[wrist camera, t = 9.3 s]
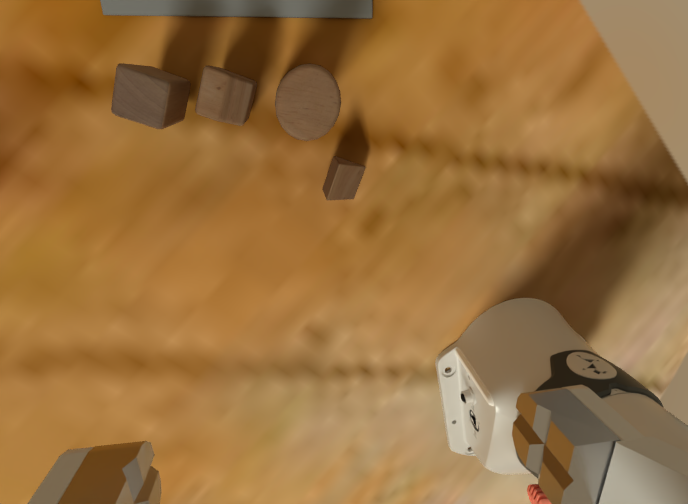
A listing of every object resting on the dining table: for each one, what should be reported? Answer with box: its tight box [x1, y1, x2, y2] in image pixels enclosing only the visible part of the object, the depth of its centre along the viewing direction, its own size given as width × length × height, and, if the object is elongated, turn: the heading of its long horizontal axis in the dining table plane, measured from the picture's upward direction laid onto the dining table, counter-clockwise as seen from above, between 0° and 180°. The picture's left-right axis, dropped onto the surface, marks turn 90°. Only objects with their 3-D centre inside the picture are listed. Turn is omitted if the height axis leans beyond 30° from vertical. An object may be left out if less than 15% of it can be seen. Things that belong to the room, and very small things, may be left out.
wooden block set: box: [111, 64, 365, 200], centre depth 27 cm, size 18×9×10 cm, turn 71°
